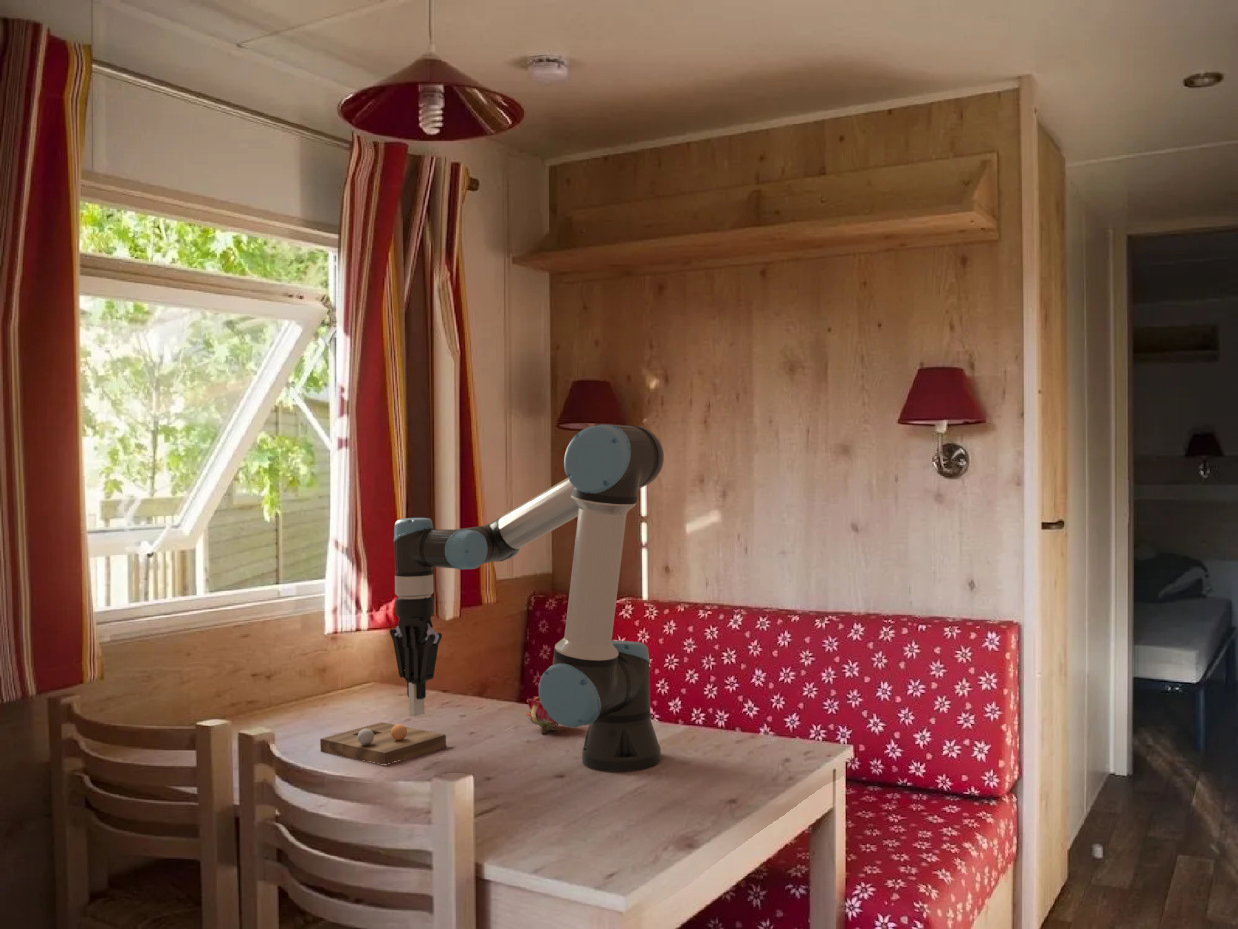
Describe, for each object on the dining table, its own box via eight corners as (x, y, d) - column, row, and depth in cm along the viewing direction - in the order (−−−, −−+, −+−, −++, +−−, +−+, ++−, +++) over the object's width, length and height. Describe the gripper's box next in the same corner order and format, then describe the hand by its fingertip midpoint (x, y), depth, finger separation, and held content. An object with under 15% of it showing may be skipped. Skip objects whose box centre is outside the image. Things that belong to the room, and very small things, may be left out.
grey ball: (377, 744, 221) (377, 728, 221) (364, 747, 218) (364, 731, 218) (367, 742, 223) (366, 726, 223) (354, 745, 220) (353, 729, 220)
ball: (410, 739, 224) (410, 723, 223) (398, 743, 221) (397, 727, 221) (400, 737, 225) (399, 721, 225) (387, 740, 223) (387, 725, 223)
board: (446, 747, 227) (445, 734, 226) (385, 765, 214) (384, 753, 214) (381, 733, 239) (381, 722, 239) (320, 751, 226) (320, 738, 226)
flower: (564, 730, 231) (570, 694, 235) (520, 722, 231) (528, 686, 235) (562, 745, 239) (568, 711, 243) (520, 738, 239) (527, 703, 243)
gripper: (451, 596, 218) (453, 715, 219) (407, 591, 226) (409, 706, 227) (422, 601, 212) (425, 723, 213) (378, 595, 220) (380, 713, 221)
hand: (416, 714), depth 220 cm, fingers closed
